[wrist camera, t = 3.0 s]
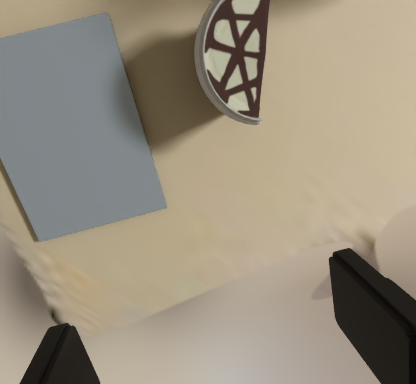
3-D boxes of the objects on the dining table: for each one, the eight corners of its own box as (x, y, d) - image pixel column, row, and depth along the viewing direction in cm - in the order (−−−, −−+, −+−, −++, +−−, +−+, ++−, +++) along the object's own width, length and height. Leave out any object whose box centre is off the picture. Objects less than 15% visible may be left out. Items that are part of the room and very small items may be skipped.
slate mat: (-44, 51, 32) (-51, 50, 31) (108, 14, 32) (107, 12, 31) (42, 238, 38) (39, 242, 37) (166, 205, 39) (166, 208, 38)
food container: (190, -3, 33) (199, -43, 23) (247, 3, 33) (277, -34, 24) (187, 116, 36) (193, 124, 27) (238, 119, 37) (261, 127, 28)
